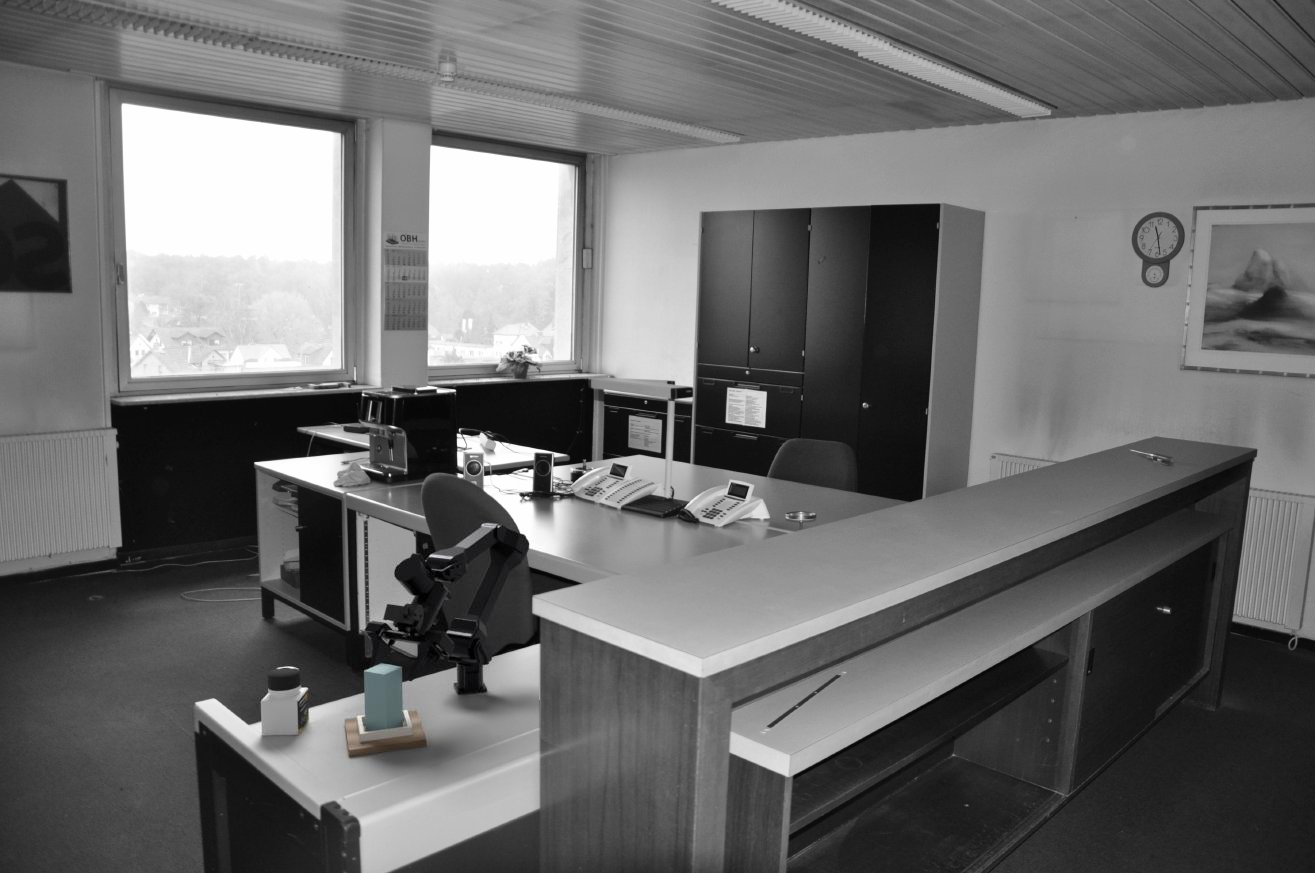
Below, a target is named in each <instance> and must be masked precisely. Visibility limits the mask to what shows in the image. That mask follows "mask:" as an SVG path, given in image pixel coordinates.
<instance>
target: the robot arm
mask: <svg viewBox="0 0 1315 873" xmlns="http://www.w3.org/2000/svg"><path fill="white" fill-rule="evenodd" d="M529 549H530V541H529V539H527V536H526V535H525V534H524V533H519V532H517V531H514V530H512V529H510V528H508V527H506V526H505V525H502V524H501V523H493V522H484V523H482V524H481V525H480V527H479V528H478V529H477V530H475V531H473V532H472V533H470V534H469V535H468V536H467V537H466V538H464V539H462V540H461V541H460V542H459V543H457V544H456V545H454V546H452V547H449V548H445V549H439V550H437V551H435V552H433V553H430V554H429V556H428V557H427V558H426V560H425V559H424V557H423V555H422V554H421V553H416V552H415V553H414V552H413V553H411V555H410V557H408V558H405V559H403V560H402V561H401V562H400V563H399V564H397V565H396V566H395V569H394V572H393V573H394V574H393V575H394V578H395V579H396V580H397V581H398V583H399V584H400V585H401V586H402V587H403V588H404V589H405V591H407V592H408V594H410V595H411V596H414V597H413V599H412V601H411V602H410V603H405V604H404V605H398V604H391V603H387V604H386V607H385V610H384V613H383V618H382V620H383V621H375V620H371V621H368V623H367V624H366V627H365V629H364V630H363V632H364V633H365V634H366V636H367V637H368V639H370V641H371V644H372V645H371V646H372V648H371V650H372V653H371V659H370V667H369V669H370V668H372V667H374V666H377V665H379V664H381V663H383V664H384V662H385V661H386V660H387V658H388V657H389V655H390V654H391V652H392V651H393V648H392V646H394V645H395V643H396V642H403V643H409V644H414V645H415V644H416V645H418V646H419V647H418V653H417V656H416V657H415V660H414V662H413V664H412V666H411V668H410V670H409V674H408V676H407V681H408V682H412V681H414V680H416V678H418V676H420V675H421V674H422V673H423V672H425V671H426V670H427V669H429V668H431V666H432V665H434V664H436V663H437V662H438V661H440V660H444V659H445V657H446V659H447V661H448V662H450V663H451V662H452V663H456V682H454V683H453V687H455V688H454V689H456V690H455V692H456V694H457V695H465V694H473V693H480V692H481V693H482V692H486V691H488V688H487V685H486V683H485V682H484V666H486V665H487V666H488V665H489V664H490V662H492V660H493V654H494V650H492V648H491V647H490V646H489V645H488V644H487V640H488V634H487V623H488V621H489V619H490V616H491V615H492V612H493V610H494V607H495V606H496V603H497V601H498V599H499V596H500V594H501V592H502V589H503V587H504V585H505V584H506V581H507V579H508V576H509V575H510V573H511V571H513V570H514V569H515V568H517V567H518V566H519V565H520V564H522V562H523V560H524V559H525V557H526V556H527V554H528V552H529ZM487 550H488V554H489V560H490V563H489V565H488V567H487V569H486V571H485V573H484V575H483V577H482V580H481V582H480V584H479V586H478V588H477V590H476V592H475V594H474V596H473V598H472V601H471V603H470V605H469V607H468V609H467V611H466V613H465V615H464V616H463V617H461V618H458V617H457V618H456V617H455V618H453V619H452V621H451V623H450V625H449V628H448V629H447V631H446V632H445V631H444V630H443V631H442V630H436V629H431V627H432V625H438V622H439V619H438V618H437V615H438V614H439V610H441V607H442V606H443V605H442V604H444V600H446V601H452V598H453V597H452V593H451V591H450V587H449V586H445V585H444V584H443V583H442V582H444V583H452V584H455V583H457V582H459V581H460V580H461V579H462V578H463V577H464V575H465V574H466V573H467V572H468V568H469V567H468V565H470V563H472V562H473V561H474V560H476V559H477V558H479V556H481V555H482V554H483V553H484V552H487ZM384 621H389V622H392V626H394V627H395V628H397V630H396V629H393V628H392V627H391V626H390V625H389V624H388V623H387V622H384Z"/></svg>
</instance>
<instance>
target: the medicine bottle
mask: <svg viewBox="0 0 1315 873" xmlns="http://www.w3.org/2000/svg"><path fill="white" fill-rule="evenodd" d="M301 674H302V673H301V670H300V669H299V668H297V667H295V666H282V667H281V666H280V667H276V668H274V669H272V670H270V671H269V672H268V674H267V691H268V692H267V694H266V695H265V696H264V697H263V698H262V699H261V701H260V716H261V717H260V718H261V719H260V720H261V735H262V736H263V737H265V736H267V737H268V736H271V737H272V736H273V737H274V736H298V735H300V734H301V732H302V731H303V730H304V728H305V727H306V726H307V724H308V723H309V721H310V712H309V711H310V710H309V688H308V687H302V680H301V678H302V677H301V676H302V675H301Z"/></svg>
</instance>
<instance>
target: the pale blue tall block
mask: <svg viewBox="0 0 1315 873" xmlns="http://www.w3.org/2000/svg"><path fill="white" fill-rule="evenodd" d="M363 684H364V685H363V686H364V715H365V732H368V731H376V730H383V729H391V728H399V727H403V710H404V706H403V704H404V703H403V699H404V698H403V667H402V666H399V665H393V664H389V663H388V664H387V663H384V662H383V663H381V664H379V665H377V666H374V667H372V668H370V667H369V668H368V669H367V668H366V669H364V671H363Z"/></svg>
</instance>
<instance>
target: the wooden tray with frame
mask: <svg viewBox="0 0 1315 873" xmlns="http://www.w3.org/2000/svg"><path fill="white" fill-rule="evenodd" d="M344 729H345V735H346V736H345V737H346V742H347V744H346V745H347V751H348V757H354V756H356V757H357V756H362V755H363V756H364V755H369V754H370V755H371V754H375V753H376V754H377V753H385V752H391V751H397V750H406V749H412V748H419V747H420V748H421V747H425V746H426V747H427V746H428V745H427V744H428V743H427V737H426V734H425V731H424V728H423V726H422V722H421V720H420V717H419V713H418V711H417V709H414V710H408V709H403V727H399V728H391V729H383V730H376V731H368V732H365V714H363V715H357V716H355V717H349V718H344Z"/></svg>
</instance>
